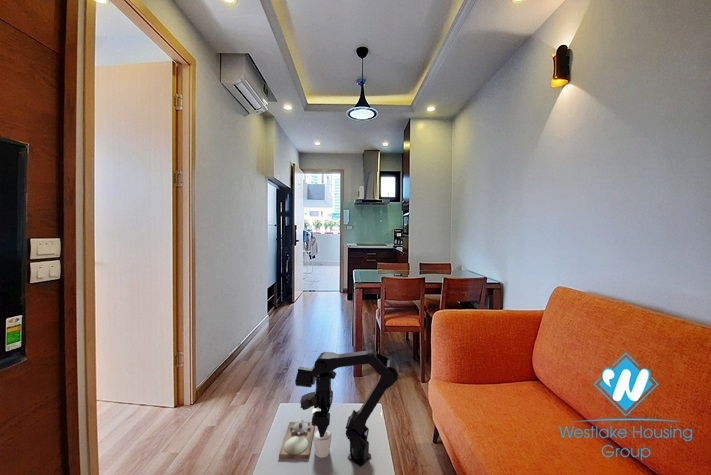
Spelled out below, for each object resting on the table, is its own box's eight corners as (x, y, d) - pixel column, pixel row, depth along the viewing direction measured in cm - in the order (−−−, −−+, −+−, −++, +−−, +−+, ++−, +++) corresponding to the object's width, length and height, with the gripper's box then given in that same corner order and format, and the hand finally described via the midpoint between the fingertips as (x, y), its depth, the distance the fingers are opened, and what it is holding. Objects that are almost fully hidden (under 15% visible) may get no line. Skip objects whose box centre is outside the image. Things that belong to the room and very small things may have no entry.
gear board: (315, 425, 123) (315, 417, 123) (308, 458, 105) (308, 448, 105) (289, 425, 123) (289, 416, 123) (278, 458, 105) (279, 448, 105)
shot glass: (332, 446, 112) (333, 428, 112) (329, 459, 105) (329, 441, 105) (315, 444, 112) (316, 426, 112) (311, 458, 106) (311, 439, 106)
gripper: (306, 375, 118) (305, 412, 118) (297, 402, 99) (297, 446, 99) (333, 375, 118) (332, 412, 118) (329, 402, 99) (329, 446, 99)
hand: (323, 428), depth 109 cm, fingers open, 9 cm apart
